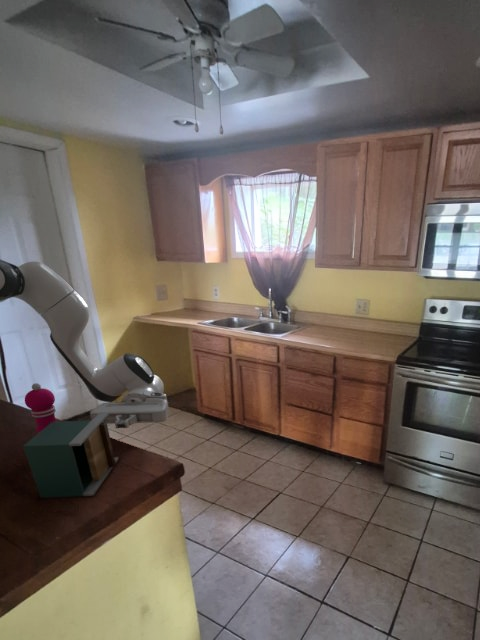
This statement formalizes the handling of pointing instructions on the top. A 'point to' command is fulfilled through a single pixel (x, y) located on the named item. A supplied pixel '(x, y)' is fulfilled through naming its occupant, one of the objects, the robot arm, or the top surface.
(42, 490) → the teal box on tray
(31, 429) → the top surface
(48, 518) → the top surface
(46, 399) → the pepper mill
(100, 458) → the sliding door
